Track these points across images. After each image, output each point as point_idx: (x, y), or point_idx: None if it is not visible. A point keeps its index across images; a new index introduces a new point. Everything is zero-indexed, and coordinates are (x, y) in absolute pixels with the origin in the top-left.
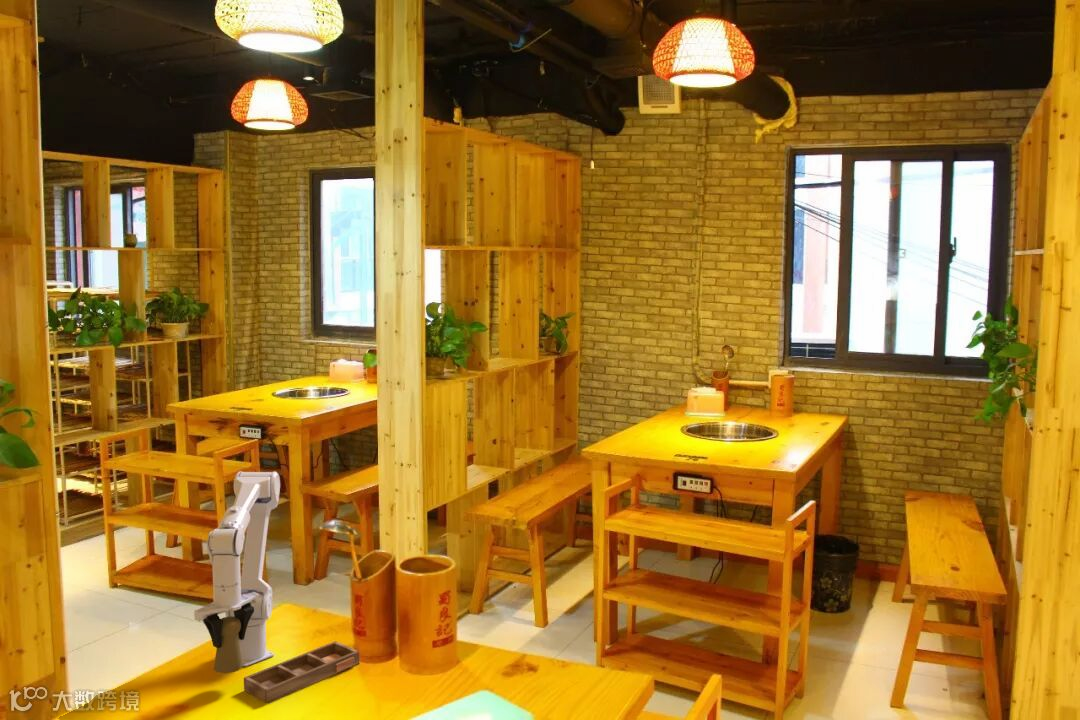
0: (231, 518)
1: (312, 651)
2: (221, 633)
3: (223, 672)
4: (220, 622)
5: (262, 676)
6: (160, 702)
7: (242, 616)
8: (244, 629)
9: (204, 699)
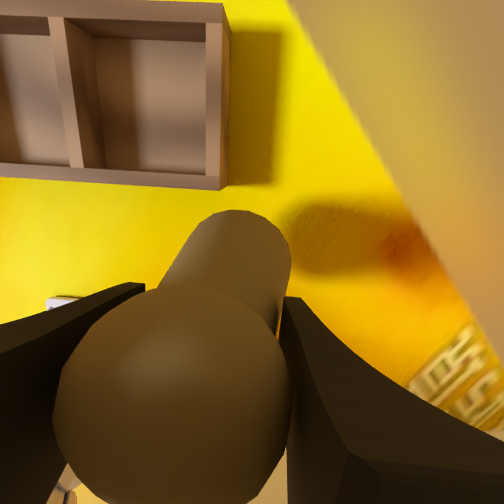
0: None
1: None
2: (281, 353)
3: (281, 234)
4: (393, 442)
5: (155, 171)
6: (409, 316)
7: None
8: (86, 303)
9: (332, 236)
